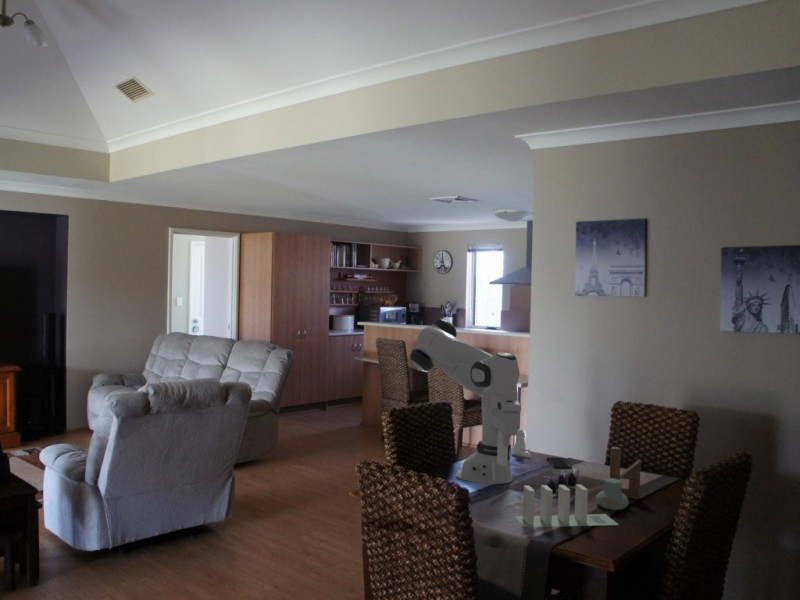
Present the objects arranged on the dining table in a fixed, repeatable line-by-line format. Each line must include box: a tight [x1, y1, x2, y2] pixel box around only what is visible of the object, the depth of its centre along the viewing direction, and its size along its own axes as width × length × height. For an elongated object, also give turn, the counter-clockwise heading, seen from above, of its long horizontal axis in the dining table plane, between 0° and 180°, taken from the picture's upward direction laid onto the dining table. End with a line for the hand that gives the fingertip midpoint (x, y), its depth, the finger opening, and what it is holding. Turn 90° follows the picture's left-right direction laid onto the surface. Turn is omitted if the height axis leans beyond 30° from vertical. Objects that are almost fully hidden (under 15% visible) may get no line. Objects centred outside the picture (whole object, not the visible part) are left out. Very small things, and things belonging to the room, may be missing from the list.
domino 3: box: [539, 484, 554, 524], centre depth 222 cm, size 2×6×11 cm, turn 9°
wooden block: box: [609, 446, 642, 500], centre depth 253 cm, size 4×11×18 cm, turn 77°
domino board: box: [514, 513, 620, 529], centre depth 224 cm, size 32×10×1 cm, turn 98°
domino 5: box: [574, 484, 589, 523], centre depth 224 cm, size 2×6×11 cm, turn 8°
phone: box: [546, 457, 573, 470], centre depth 297 cm, size 8×1×15 cm
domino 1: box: [497, 429, 508, 466], centre depth 227 cm, size 2×6×11 cm, turn 9°
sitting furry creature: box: [511, 428, 532, 459], centre depth 310 cm, size 10×9×12 cm
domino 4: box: [556, 484, 571, 524], centre depth 223 cm, size 2×6×11 cm, turn 9°
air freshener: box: [595, 477, 629, 511], centre depth 240 cm, size 11×8×10 cm
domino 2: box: [522, 484, 536, 525], centre depth 221 cm, size 2×6×11 cm, turn 9°
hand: (502, 442), depth 227 cm, fingers closed on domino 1, 6 cm apart
